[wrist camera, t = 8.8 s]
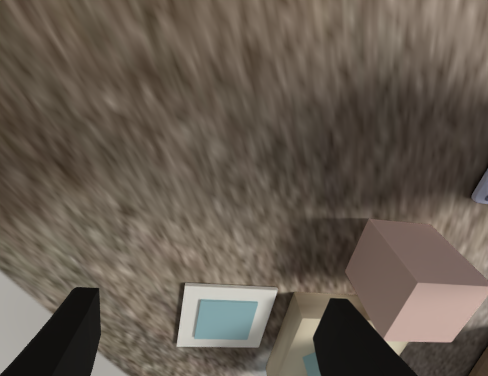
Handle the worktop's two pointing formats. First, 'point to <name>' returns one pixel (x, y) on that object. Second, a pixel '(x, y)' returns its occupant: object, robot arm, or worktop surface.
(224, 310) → the card
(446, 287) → the rose cube
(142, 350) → the worktop surface
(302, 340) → the birch block
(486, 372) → the wooden block
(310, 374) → the teal cube
